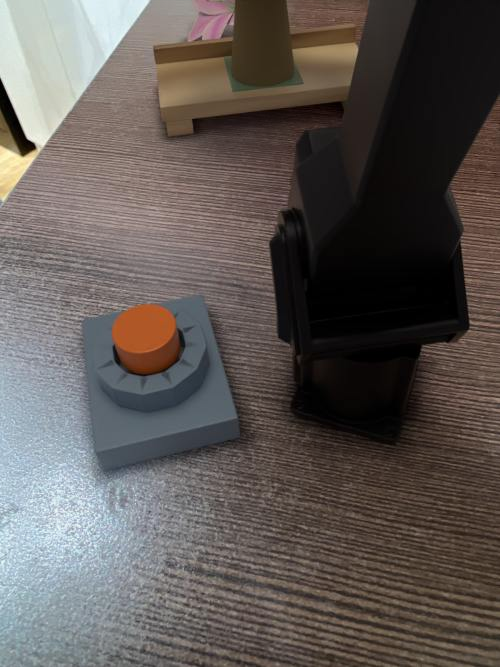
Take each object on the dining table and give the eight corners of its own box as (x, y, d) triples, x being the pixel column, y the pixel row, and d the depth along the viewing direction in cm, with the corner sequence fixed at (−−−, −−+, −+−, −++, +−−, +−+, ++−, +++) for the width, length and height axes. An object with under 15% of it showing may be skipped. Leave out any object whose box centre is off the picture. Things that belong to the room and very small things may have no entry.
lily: (197, 25, 73) (154, -41, 65) (286, -19, 69) (252, -95, 61) (206, 101, 69) (161, 41, 61) (302, 59, 65) (267, -12, 57)
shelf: (374, 112, 57) (380, 65, 54) (165, 137, 56) (157, 91, 52) (350, 67, 63) (354, 23, 59) (160, 89, 62) (152, 45, 58)
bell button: (186, 367, 34) (181, 344, 32) (122, 381, 34) (115, 359, 32) (175, 321, 36) (170, 298, 35) (115, 334, 36) (108, 311, 34)
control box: (240, 438, 35) (236, 399, 32) (103, 472, 34) (86, 436, 31) (205, 315, 41) (199, 273, 38) (89, 340, 40) (73, 300, 37)
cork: (270, 92, 54) (268, -44, 46) (217, 75, 57) (206, -58, 48) (306, 65, 57) (310, -68, 49) (255, 50, 60) (250, -80, 51)
